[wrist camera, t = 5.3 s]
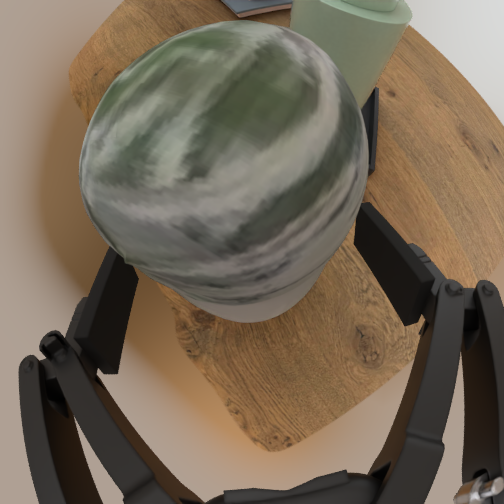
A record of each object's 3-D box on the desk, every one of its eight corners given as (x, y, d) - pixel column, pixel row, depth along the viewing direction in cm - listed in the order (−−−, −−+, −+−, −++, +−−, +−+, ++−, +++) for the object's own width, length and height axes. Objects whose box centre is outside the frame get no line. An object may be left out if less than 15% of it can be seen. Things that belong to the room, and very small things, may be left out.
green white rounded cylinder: (219, 205, 33) (144, -35, 5) (304, 238, 32) (466, 46, 5) (185, 286, 31) (-53, 236, 4) (272, 321, 31) (398, 464, 3)
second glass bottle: (261, 107, 34) (273, -100, 6) (314, 77, 35) (359, -92, 7) (315, 159, 33) (408, -58, 5) (365, 123, 34) (462, -42, 6)
